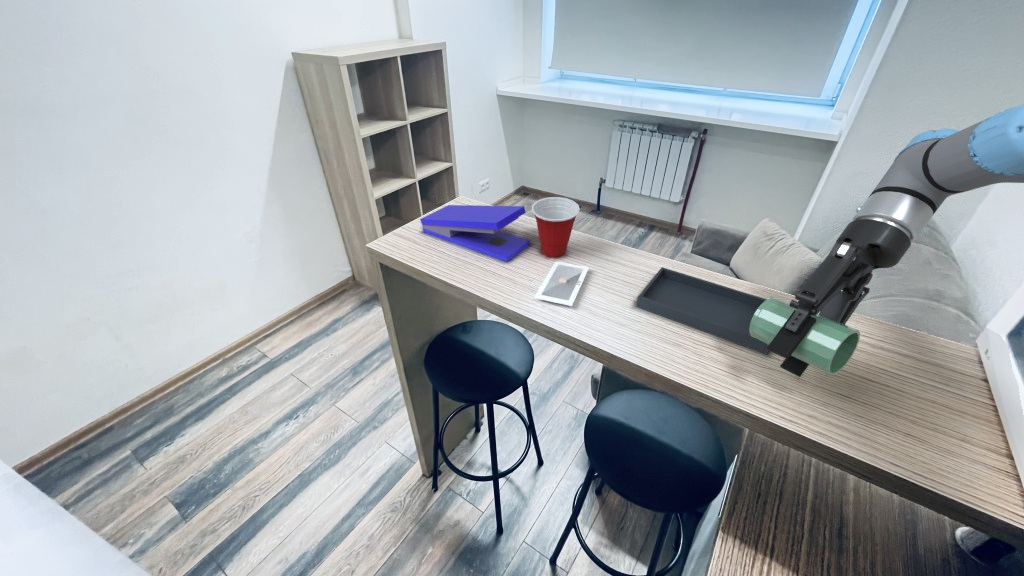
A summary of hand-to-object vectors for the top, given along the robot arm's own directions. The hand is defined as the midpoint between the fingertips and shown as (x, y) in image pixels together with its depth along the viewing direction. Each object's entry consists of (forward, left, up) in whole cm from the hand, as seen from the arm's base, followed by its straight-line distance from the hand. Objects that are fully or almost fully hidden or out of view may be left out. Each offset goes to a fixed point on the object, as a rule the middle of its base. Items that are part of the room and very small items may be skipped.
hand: (783, 362), depth 58 cm
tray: (+20, -4, -7) cm, 22 cm away
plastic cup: (+50, +16, -7) cm, 53 cm away
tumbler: (+7, -2, +2) cm, 8 cm away
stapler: (+63, +33, -7) cm, 72 cm away
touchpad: (+36, +19, -7) cm, 42 cm away
